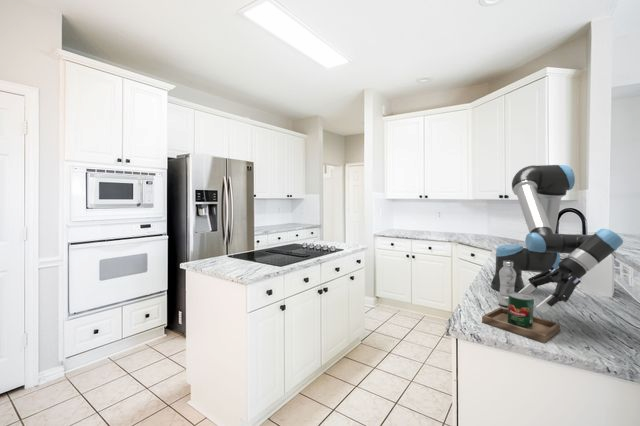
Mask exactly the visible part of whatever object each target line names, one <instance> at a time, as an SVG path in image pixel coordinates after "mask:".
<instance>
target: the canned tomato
mask: <svg viewBox="0 0 640 426" xmlns="http://www.w3.org/2000/svg"><path fill="white" fill-rule="evenodd" d="M534 302H535V297H534V296H532V295H531V294H529V295H528V294H524V293H516V292H512V293H509V298H508V307H507V309H508V321H507V323H509V324H512V325H515V326H519V327H522V328H525V329H531V328H532V327H533V326H532V325H533V316H534V305H535V304H534Z"/></svg>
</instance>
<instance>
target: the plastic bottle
mask: <svg viewBox="0 0 640 426" xmlns="http://www.w3.org/2000/svg"><path fill="white" fill-rule="evenodd" d="M503 265H504V266H503V267H502V268H501V269H500V271H499V277H500V291H498V292H499V293H498V296H497V300H498V303H499V304H500V305H501V306H503V307H506V308H508V298H509V293H512V292H514V286H515V280H516V272H515V270H514V269H513V267H512V266H513V262H512V261H503Z"/></svg>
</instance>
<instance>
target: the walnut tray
mask: <svg viewBox="0 0 640 426" xmlns="http://www.w3.org/2000/svg"><path fill="white" fill-rule="evenodd" d="M481 318H482V319H481V323H482V324H486V325H489V326H491V327H495V328H497V329H500V330H504V331H507V332H509V333H513V334H515V335H518V336H521V337H524V338H528V339H531V340H533V341H537V342H540V343H542V344H546V343H547V342H548V341H549V340H550V339H551V340H552V338H553V337H554V336H556V335H557V334H558V333H560V331H561V323H559V322H556V321H552V320H547V319H544V318H542V317H541V318H540V317H537V316H534V315H533V325H532V326H533V327H532V328H531V329H525V328H522V327H519V326H515V325H512V324H509V323H507V321H508V308H507V307H506V308H505V307H497V308H496V309H494V310H492V311H490V312H488V313H486V314H483V315H482V316H481Z"/></svg>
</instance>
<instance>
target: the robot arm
mask: <svg viewBox="0 0 640 426" xmlns="http://www.w3.org/2000/svg"><path fill="white" fill-rule="evenodd" d="M575 183H576V177H575V173H574V170H573V169H572V167H570V166H569V165H564V164H545V165H543V164H541V165H528V166H525V167H523V168H521V169H520V170H518V171H517V172H516V173H515V174H514V177H513V178H512V181H511V189H512V193H513V195H516V196H517V198H518V202H519V206H520V208H521V211H522V214H523V218H524V220H525V223H526V226H527V230H528V231H529V233H527V234H526V237H525V239H524V240H525V246H526V247H524V246H523V245H521V244H502V245H499V246H497V247H496V251H495V271H494V272H495V273H494V275H493V278H492V279H491V282H490V287H491V289H493V290H495V291H498V292H500V277H499V271H500V269H501V268H502V267H503V266H504V265H503V261H512V262H513V266H512V267H513V269H514V270H515V272H516V280H515V286H514V292H516V293H524V294H528V295H531V293H533V292H534V291H535V290H536V289H538V288H537V287H540V286H543V285H546V284H549V283H556V286H555V289H554V292H552V293H551V294H550V295H548V297H546V298H545V299H543V300H542V301H541V302H540V303H539V304H537V305H536V306H535V308H536V309H538V310H539V312H541V314H544V313H545V312H547V311H548V310H549V309H550V308H552V307H553V306H554V305H556V304H557V303H558V302H564V303H566V302H567V303H568V301H569V299H570V297H571V296H572V294H573V292H574V290H575V289H576V287H577V286H578V285H579V284H580V283H581V281H582V280H580V279H582V276H583V275H585V274H586V271H589V270H591V269H592V268H594V266H596V265H597V264H598V263H599V262H601V261H602V260H603V259H605V258H606V257H607V256H609V255H610V254H612V253H614V252H615V251H618V249H619V248H620V247H621V246H623V243H624V241H623V239H622V237H621V236H620V235H619V234H618V233H616V232H615V231H613V230H611V229H608V228H600V229H598V230H597V231H595V232H594V234H577V233H575V234H570V233H568V234H567V233H556V230H557V224H558V218H559V213H560V207H561V203H562V202H561V200H562V198H564V197H565V196H566V195H567V191H571V190H572V189H573V188H574V186H575ZM561 254H567V257H564V258H563V259H562V260H561ZM523 271H525V272H539V273H538V274H536V275H534V276H531V277H529V278H528V281H529V283H528V284H527V285H526V286H525V282H524V280H523V276H522V273H523Z"/></svg>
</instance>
